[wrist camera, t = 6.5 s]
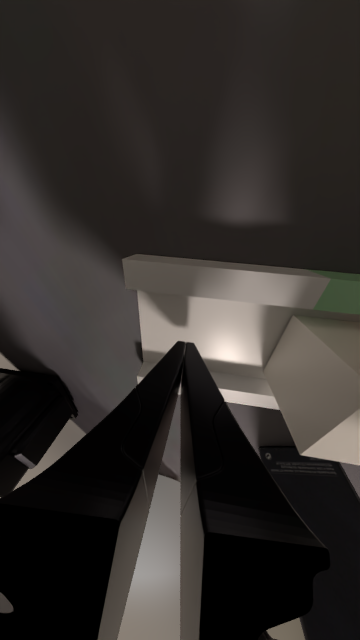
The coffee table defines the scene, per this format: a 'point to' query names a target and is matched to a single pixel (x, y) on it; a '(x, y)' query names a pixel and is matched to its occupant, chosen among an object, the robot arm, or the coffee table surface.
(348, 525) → the small box
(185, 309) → the base
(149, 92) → the coffee table surface
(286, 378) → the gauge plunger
